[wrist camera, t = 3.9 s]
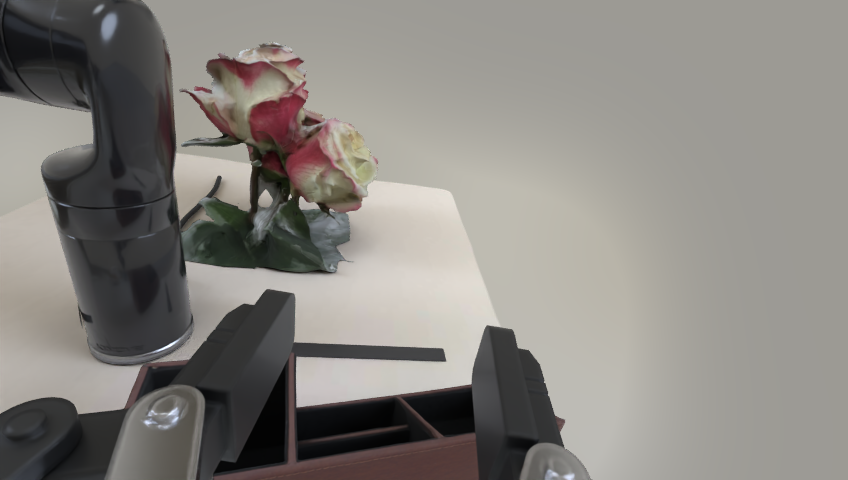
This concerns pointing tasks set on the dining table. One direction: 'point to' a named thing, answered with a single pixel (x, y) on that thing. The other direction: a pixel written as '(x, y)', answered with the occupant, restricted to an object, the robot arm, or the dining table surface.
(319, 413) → the desk organizer
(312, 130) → the rose bouquet
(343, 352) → the tape line
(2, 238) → the dining table surface
